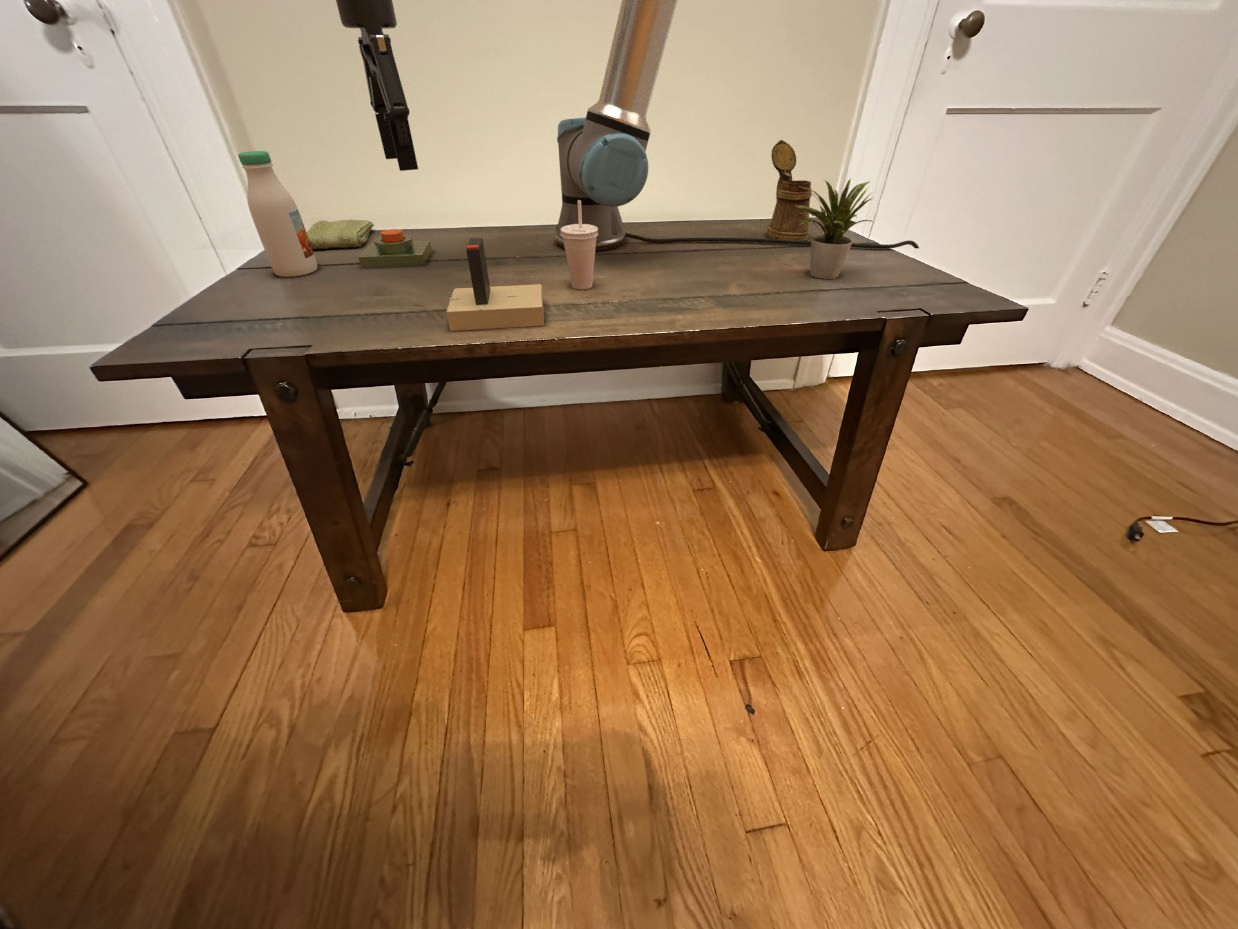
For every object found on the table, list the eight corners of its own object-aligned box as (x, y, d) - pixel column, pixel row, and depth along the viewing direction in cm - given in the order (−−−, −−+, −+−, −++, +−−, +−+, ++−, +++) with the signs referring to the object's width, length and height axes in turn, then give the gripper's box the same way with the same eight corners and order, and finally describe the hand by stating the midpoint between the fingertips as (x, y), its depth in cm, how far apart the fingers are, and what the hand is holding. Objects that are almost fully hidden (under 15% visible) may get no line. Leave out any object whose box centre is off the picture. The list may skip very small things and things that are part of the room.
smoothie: (572, 294, 92) (567, 206, 83) (558, 283, 96) (552, 198, 88) (605, 288, 94) (604, 201, 85) (590, 277, 98) (587, 194, 90)
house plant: (810, 256, 108) (829, 165, 98) (877, 271, 100) (904, 174, 90) (772, 272, 100) (788, 175, 90) (840, 290, 92) (866, 186, 82)
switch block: (432, 251, 113) (428, 231, 110) (424, 265, 105) (419, 244, 102) (373, 253, 111) (368, 233, 109) (361, 268, 104) (355, 247, 101)
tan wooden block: (543, 301, 89) (541, 283, 87) (544, 326, 81) (542, 305, 79) (457, 306, 88) (453, 287, 86) (449, 331, 80) (445, 310, 78)
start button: (405, 237, 108) (403, 228, 107) (402, 243, 105) (399, 234, 103) (385, 238, 107) (383, 229, 106) (381, 244, 104) (378, 234, 103)
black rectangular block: (479, 291, 84) (469, 236, 79) (490, 290, 85) (482, 236, 80) (475, 304, 80) (465, 247, 75) (487, 304, 80) (478, 247, 75)
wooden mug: (783, 225, 128) (798, 138, 117) (816, 240, 118) (835, 146, 107) (750, 228, 126) (762, 140, 115) (780, 243, 116) (796, 148, 105)
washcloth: (376, 228, 128) (372, 214, 126) (364, 249, 114) (359, 233, 112) (318, 231, 126) (313, 217, 124) (299, 253, 112) (293, 237, 110)
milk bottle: (301, 279, 99) (255, 155, 87) (265, 276, 100) (215, 154, 88) (327, 266, 105) (288, 149, 93) (292, 264, 106) (249, 148, 94)
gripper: (326, -2, 82) (367, 155, 95) (342, -19, 64) (389, 177, 77) (377, -1, 85) (410, 152, 98) (406, -16, 67) (441, 173, 80)
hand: (401, 164), depth 87 cm, fingers open, 13 cm apart
